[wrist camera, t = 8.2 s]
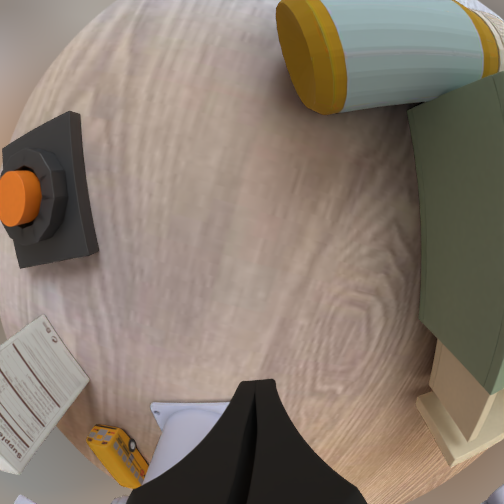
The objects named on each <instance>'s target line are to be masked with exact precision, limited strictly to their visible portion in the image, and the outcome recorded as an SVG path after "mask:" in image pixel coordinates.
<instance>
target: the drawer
mask: <svg viewBox="0 0 504 504" xmlns="http://www.w3.org/2000/svg"><path fill="white" fill-rule="evenodd" d="M429 386H430V387H431V389H432V390H433V391H432V392H429V393H426V394H423V395H420V396H418V397H417V401H416V407H417V409H418V411H419V412H420V414H421V416H422V418H423V419H424V421H425V423H426V425H427V426H428V428H429V430H430V432H431V434H432V435H433V437H434V439H435V441H436V443H437V444H438V446H439V448H440V450H441V452H442V454H443V456H444V457H445V459H446V461H447V463H448V465H449V467H450V468H451V467H453V466H455V465H457V464H459V463H461V462H463V461H465V460H467V459H469V458H471V457H473V456H475V455H477V454H479V453H480V452H482V451H484V450H486V449H487V448H489V447H491V446H492V445H494V444H496V443H497V442H499V441H500V440H502V439H504V389H502V390H500V391H498V392H496V393H495V394H493V395H490V394H489V393H488V392H487V391H486V390H485V389H484V387H482V386H481V385H480V383H479V382H478V381H477V380H476V379H475V378H474V377H473V376H472V374H471V373H470V372H469V371H468V370H467V369H466V368H465V367H464V366H463V365H462V364H461V362H460V361H459V360H458V359H457V358H456V357H455V356H454V355H453V354H452V353H451V352H450V351H449V350H448V349H447V348H446V347H445V346H444V345H443V343H442V342H441V341H440V340H439V339H437V345H436V351H435V356H434V362H433V367H432V371H431V376H430V381H429Z"/></svg>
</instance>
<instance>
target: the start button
mask: <svg viewBox="0 0 504 504" xmlns="http://www.w3.org/2000/svg"><path fill="white" fill-rule="evenodd" d="M41 199H42V195H41V187H40V181H39V179H38V177H37V176H36V175H35V174H34V173H33V172H31V171H27V170H26V171H9V172H6V173H5V174H4V175H3V176H2V177H1V179H0V220H1V221H2V222H3V223H4V224H5V225H6V226H9V227H13V226H17V225H21V224H25V223H29V222H31V221H33V220H34V219H35V218H36V217H37V215H38V213H39V210H40V204H41Z"/></svg>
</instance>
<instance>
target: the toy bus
mask: <svg viewBox="0 0 504 504" xmlns="http://www.w3.org/2000/svg"><path fill="white" fill-rule="evenodd" d="M86 442H87V444H88V445H89V447H90V448H91V450H92V451H93V452H94V454H95V455H96V456H97V458H98V459H99V460H100V461H101V463H102V464H103V465H104V466H105V468H106V469H107V470H108V471H109V473H110V474H111V475H112V476H113V477H114V479H115V480H116V481H117V482H118V483H119V484H120V485H121V486H123V487H128V488H132V489H135V488H138V487H140V486H142V483H143V481H144V478H145V475H146V473H147V470H148V467H149V466H148V465H147V463H146V462H145V460H144V459H143V457H142V456H141V455H140V453H139V452H138V450H137V449H136V443H135V441H134V439H130V438H129V437H128V436H127V434H126V433H125V432H124V431H123V430H122V429H120V428H117V427H112V426H106V425H100V424H96V425H95V426H94V427H93V429H92V430H91V432H90V433H89V435H88V436H87V438H86Z"/></svg>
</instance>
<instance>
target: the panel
mask: <svg viewBox="0 0 504 504" xmlns="http://www.w3.org/2000/svg"><path fill="white" fill-rule="evenodd" d="M2 153H3V171H2V173H1V176H0V179H1V177H2V176H3V175H4V174H5V173H6V172H9V171H26V170H27V171H31V172H33V173H34V174H35V175H36V176H37V177H38V179H39V181H40V187H41V195H42V199H41V204H40V210H39V213H38V215H37V217H36V218H35V219H34V220H33V221H31V222H29V223H25V224H21V225H17V226H13V227H9V226H6V225H5V224H4V223H3V222H2V221H1V222H2V224H3V226H4V228H5V229H6V231H7V233H8V235H9V237H10V238H11V239H13V242H14V246H15V251H16V255H17V259H18V263H19V267H20V269H21V268H26V267H31V266H36V265H42V264H47V263H52V262H57V261H63V260H68V259H73V258H79V257H84V256H89V255H91V254H94V253H96V252H98V251H99V248H98V243H97V239H96V234H95V229H94V224H93V219H92V214H91V208H90V202H89V196H88V190H87V183H86V176H85V168H84V159H83V149H82V138H81V123H80V114H78V113H75V112H72V111H68V112H66V113H64V114H62V115H60V116H58V117H56V118H54V119H52V120H50V121H48V122H46V123H44V124H43V125H41V126H39V127H37V128H35V129H34V130H32V131H30V132H28V133H27V134H25V135H23V136H22V137H20V138H18V139H17V140H15V141H13V142H12V143H10V144H9V145H7V146H6V147H4V148H3V149H2Z"/></svg>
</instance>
